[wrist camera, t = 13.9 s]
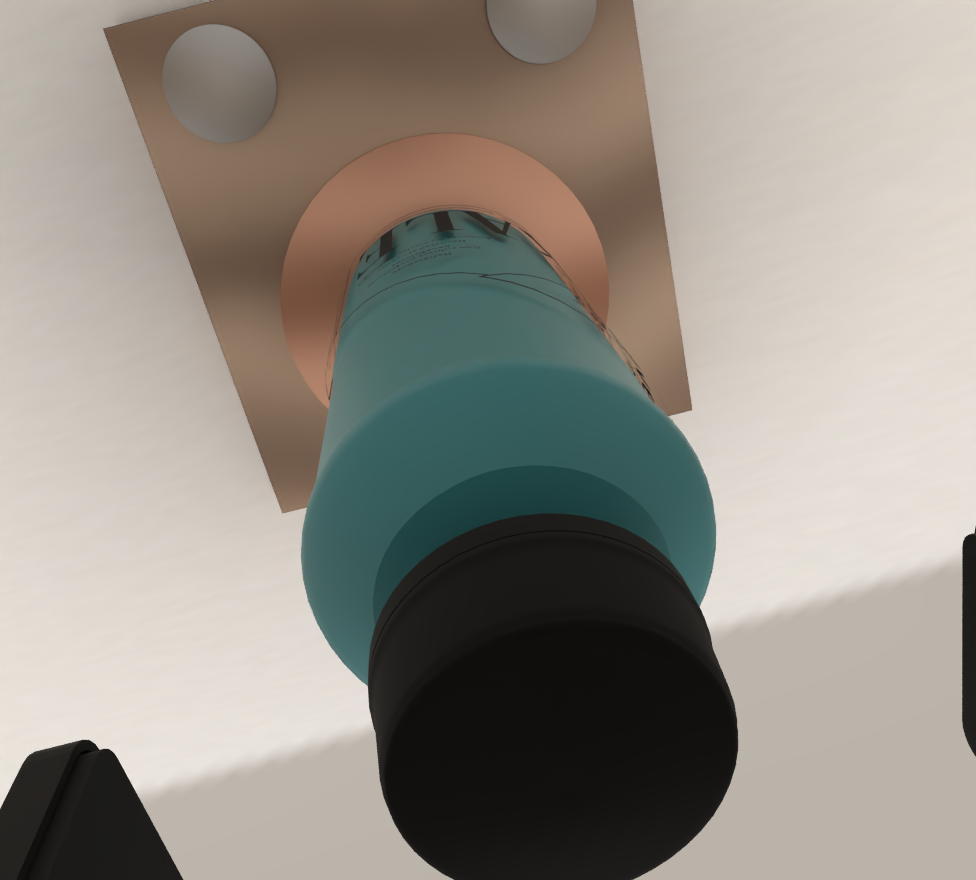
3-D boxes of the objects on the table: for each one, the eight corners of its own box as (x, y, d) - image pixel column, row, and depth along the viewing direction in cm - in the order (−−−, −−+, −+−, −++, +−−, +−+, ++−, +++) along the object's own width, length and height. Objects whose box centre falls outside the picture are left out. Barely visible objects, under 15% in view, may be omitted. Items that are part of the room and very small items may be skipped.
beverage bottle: (438, 440, 29) (524, 1085, 11) (292, 286, 27) (97, 791, 9) (598, 311, 28) (988, 798, 10) (461, 138, 26) (645, 363, 8)
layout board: (118, 29, 25) (101, 28, 24) (604, -93, 25) (618, -102, 24) (286, 493, 31) (281, 516, 30) (679, 394, 31) (694, 412, 30)
